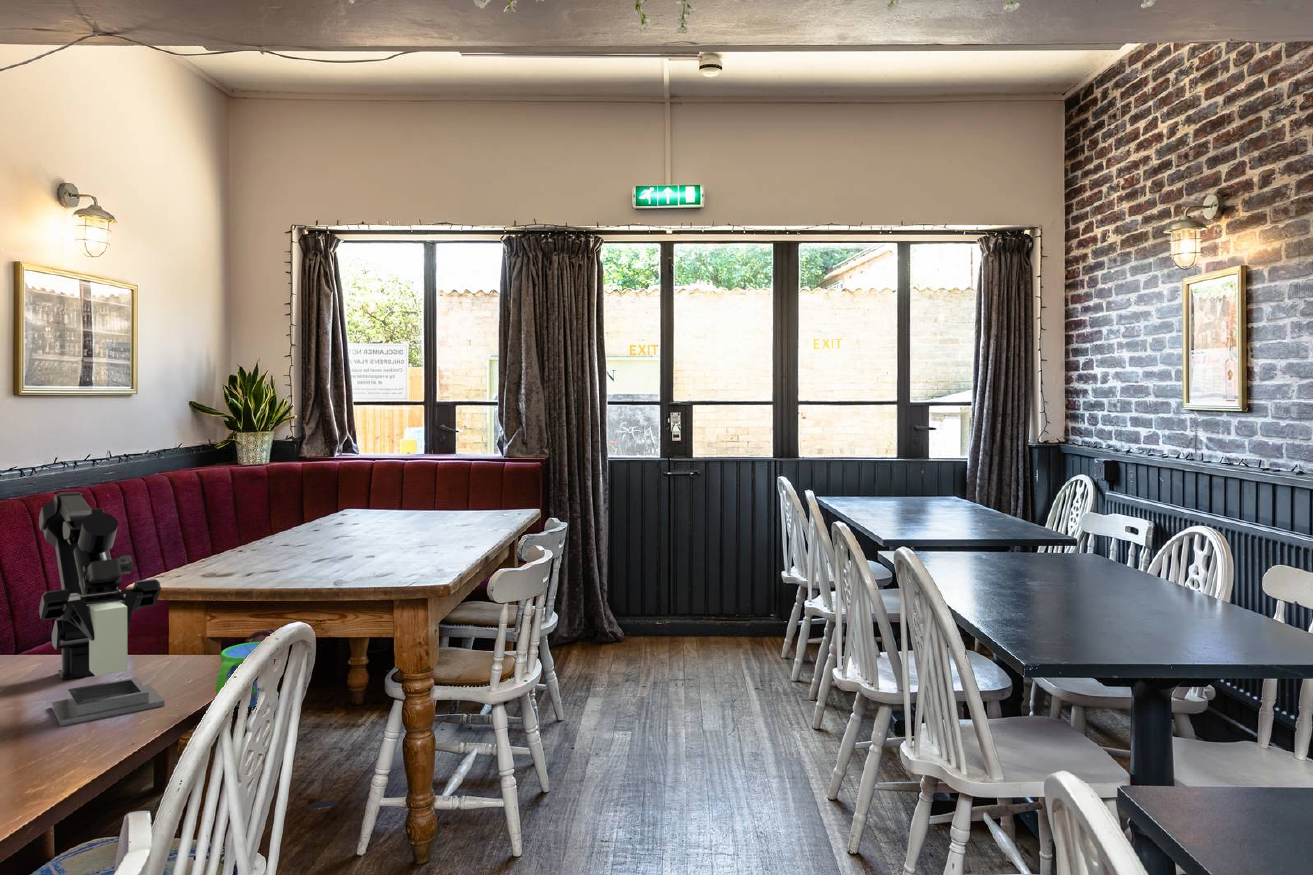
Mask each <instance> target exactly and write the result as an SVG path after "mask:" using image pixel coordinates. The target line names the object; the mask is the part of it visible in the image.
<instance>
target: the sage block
mask: <svg viewBox="0 0 1313 875" xmlns="http://www.w3.org/2000/svg"><path fill="white" fill-rule="evenodd" d="M89 618H90V621H91V624H92V627H93V630H94V640H93V641H91V640H90V639H89V670H90V671H91V672H92V673H93V674H94V675H93V676H95V677H100V676H106V675H112V674H119V673H122V672H128V635H127V606H126V605H124V604H123V603H122V602H121V601H119V602H111V603H103V604H99V605H92V606H89Z"/></svg>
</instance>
